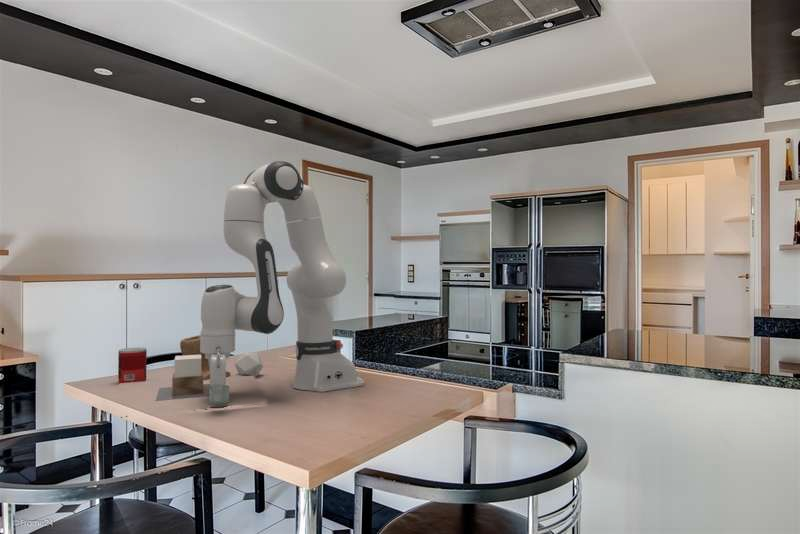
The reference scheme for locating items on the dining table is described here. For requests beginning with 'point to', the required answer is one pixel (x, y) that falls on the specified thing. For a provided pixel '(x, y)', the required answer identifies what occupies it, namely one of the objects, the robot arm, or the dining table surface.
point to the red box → (132, 365)
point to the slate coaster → (167, 395)
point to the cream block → (187, 366)
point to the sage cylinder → (223, 396)
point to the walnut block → (187, 385)
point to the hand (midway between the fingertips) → (216, 396)
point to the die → (249, 364)
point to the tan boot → (193, 348)
